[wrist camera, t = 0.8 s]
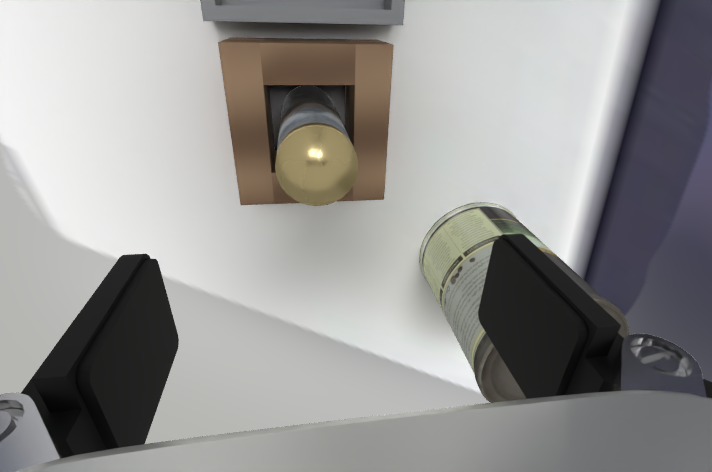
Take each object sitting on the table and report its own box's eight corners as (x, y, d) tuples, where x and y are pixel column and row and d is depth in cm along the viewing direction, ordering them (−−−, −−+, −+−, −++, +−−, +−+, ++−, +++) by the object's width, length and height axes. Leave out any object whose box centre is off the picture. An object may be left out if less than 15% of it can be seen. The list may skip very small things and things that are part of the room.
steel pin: (279, 85, 28) (271, 127, 17) (335, 85, 28) (359, 125, 18) (283, 140, 30) (278, 207, 19) (335, 139, 30) (357, 204, 20)
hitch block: (230, 37, 26) (218, 42, 22) (377, 39, 27) (393, 44, 23) (248, 178, 31) (240, 205, 27) (371, 174, 32) (383, 199, 28)
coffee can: (528, 194, 35) (651, 288, 23) (513, 284, 41) (608, 399, 28) (418, 208, 34) (486, 314, 22) (417, 299, 40) (472, 424, 28)
